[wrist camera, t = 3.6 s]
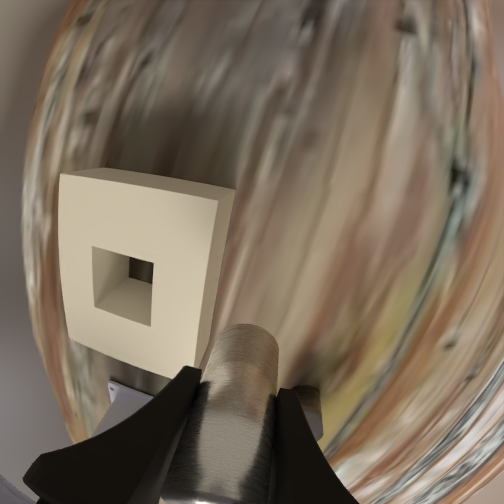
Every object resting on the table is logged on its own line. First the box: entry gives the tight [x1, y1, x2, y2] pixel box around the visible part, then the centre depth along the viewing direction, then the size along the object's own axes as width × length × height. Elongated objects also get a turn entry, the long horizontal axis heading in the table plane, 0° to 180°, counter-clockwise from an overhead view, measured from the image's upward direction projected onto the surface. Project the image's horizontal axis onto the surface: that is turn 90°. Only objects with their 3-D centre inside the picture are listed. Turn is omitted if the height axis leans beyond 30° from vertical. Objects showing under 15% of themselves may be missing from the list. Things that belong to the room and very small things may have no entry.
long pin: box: [160, 324, 279, 504], centre depth 9 cm, size 3×3×8 cm
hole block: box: [58, 168, 236, 379], centre depth 18 cm, size 12×10×5 cm
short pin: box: [291, 385, 323, 441], centre depth 21 cm, size 3×3×4 cm
